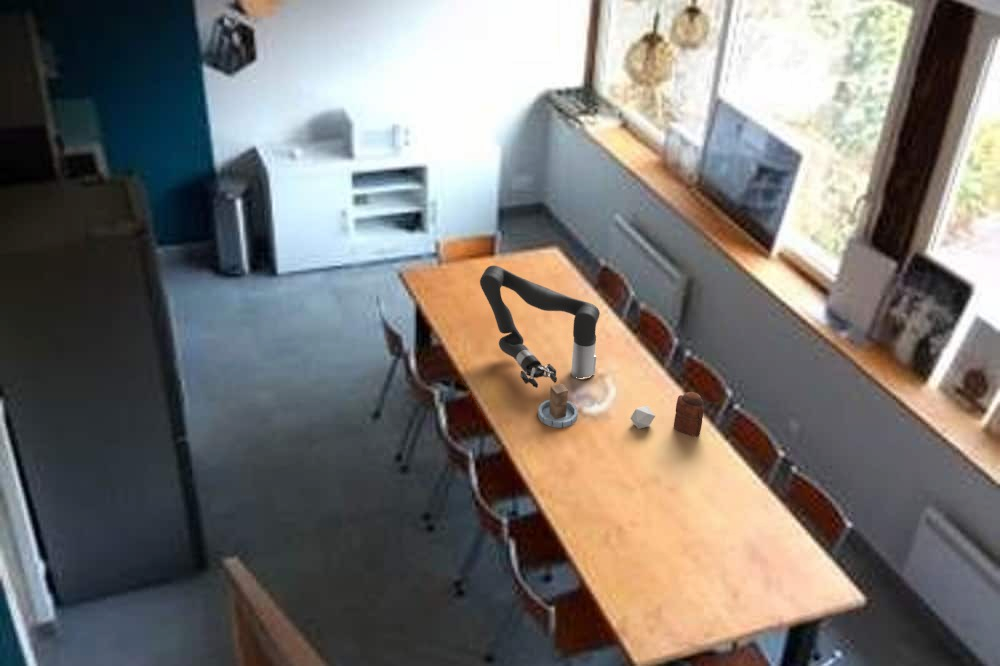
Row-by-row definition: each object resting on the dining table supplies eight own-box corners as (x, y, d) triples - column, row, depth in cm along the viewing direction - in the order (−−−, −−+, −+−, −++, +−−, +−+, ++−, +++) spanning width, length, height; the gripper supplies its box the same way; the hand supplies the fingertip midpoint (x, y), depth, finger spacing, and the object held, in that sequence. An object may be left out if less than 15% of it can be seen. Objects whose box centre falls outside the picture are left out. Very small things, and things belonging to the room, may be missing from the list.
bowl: (565, 399, 428) (565, 394, 427) (583, 421, 417) (584, 416, 415) (531, 409, 422) (531, 404, 421) (549, 431, 411) (549, 426, 409)
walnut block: (560, 409, 422) (561, 383, 415) (566, 416, 418) (568, 390, 411) (549, 412, 420) (550, 386, 413) (555, 419, 416) (556, 393, 409)
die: (645, 417, 421) (632, 400, 417) (662, 417, 414) (649, 400, 410) (636, 433, 417) (622, 416, 413) (652, 433, 410) (639, 417, 406)
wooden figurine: (703, 430, 414) (710, 394, 404) (698, 439, 409) (704, 402, 399) (676, 420, 418) (681, 384, 408) (670, 429, 414) (675, 393, 404)
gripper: (513, 358, 430) (531, 380, 418) (543, 351, 435) (562, 371, 423) (512, 373, 434) (530, 395, 422) (543, 365, 439) (561, 386, 427)
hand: (546, 383), depth 423 cm, fingers open, 8 cm apart
